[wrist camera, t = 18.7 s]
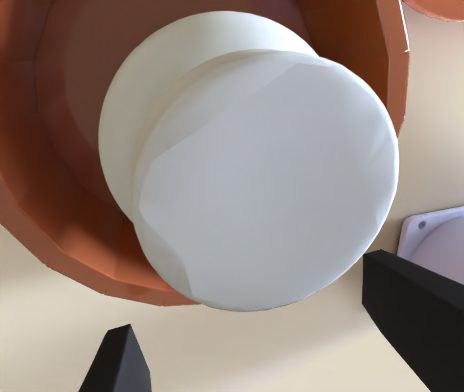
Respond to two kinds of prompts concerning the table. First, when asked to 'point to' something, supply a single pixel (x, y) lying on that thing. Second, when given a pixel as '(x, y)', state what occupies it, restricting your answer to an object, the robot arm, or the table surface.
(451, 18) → the lid
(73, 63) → the crock
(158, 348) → the table surface
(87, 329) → the table surface
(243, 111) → the supplement bottle
